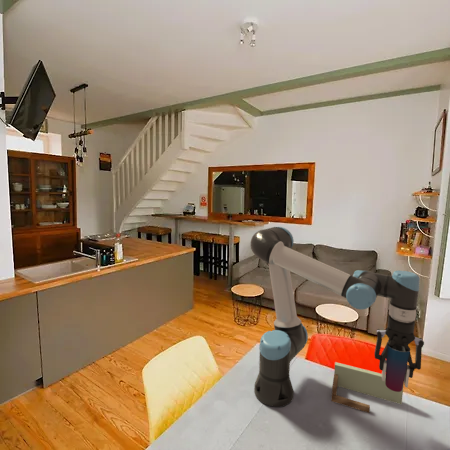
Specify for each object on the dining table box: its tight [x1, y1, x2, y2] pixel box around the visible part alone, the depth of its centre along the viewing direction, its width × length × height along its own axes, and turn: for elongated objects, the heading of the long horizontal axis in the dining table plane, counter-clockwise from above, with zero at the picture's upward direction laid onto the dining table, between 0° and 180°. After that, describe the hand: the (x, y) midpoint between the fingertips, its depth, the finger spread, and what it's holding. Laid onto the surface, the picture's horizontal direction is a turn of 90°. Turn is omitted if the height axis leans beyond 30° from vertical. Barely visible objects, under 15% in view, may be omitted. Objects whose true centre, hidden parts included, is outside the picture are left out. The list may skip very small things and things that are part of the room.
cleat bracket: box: [330, 373, 371, 414], centre depth 109 cm, size 13×10×5 cm
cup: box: [385, 341, 411, 392], centre depth 96 cm, size 7×7×15 cm
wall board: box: [333, 361, 405, 405], centre depth 111 cm, size 24×2×9 cm, turn 64°
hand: (394, 381), depth 97 cm, fingers closed on cup, 6 cm apart
